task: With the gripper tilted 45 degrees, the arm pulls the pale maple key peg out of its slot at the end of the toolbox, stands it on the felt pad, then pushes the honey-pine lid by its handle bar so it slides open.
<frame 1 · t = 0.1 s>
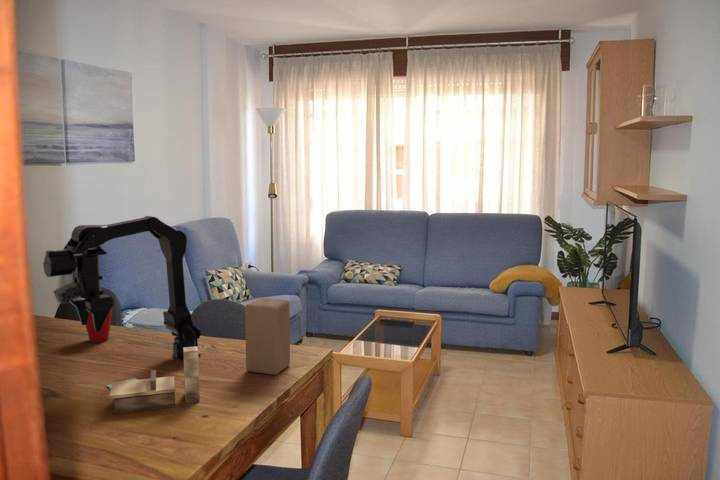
hand: (90, 328, 167), 15 cm above the table, tool pointing down, fingers open, 9 cm apart
wooden block: (268, 369, 179), on the table
lid: (142, 382, 153), point 5 cm above the table, slide at 0.0 cm
plastic cup: (98, 340, 204), on the table
felt pad: (127, 386, 164), on the table
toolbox: (145, 402, 154), on the table
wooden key: (192, 397, 157), on the table
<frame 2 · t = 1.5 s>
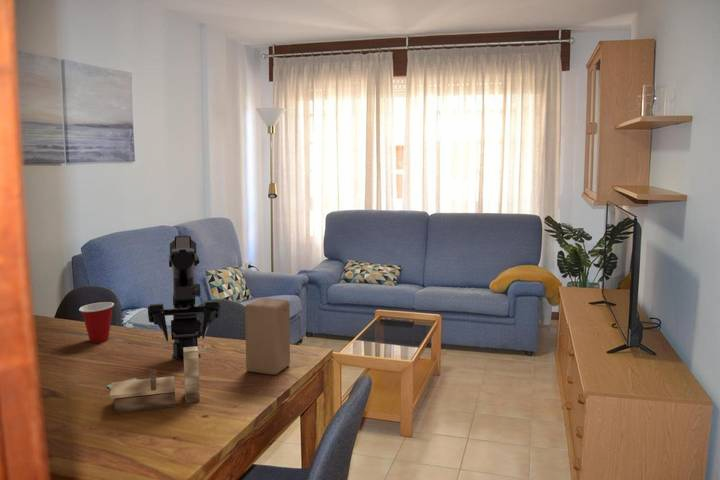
hand: (185, 339, 162), 13 cm above the table, tool tilted 45°, fingers open, 9 cm apart
nothing on the table moved.
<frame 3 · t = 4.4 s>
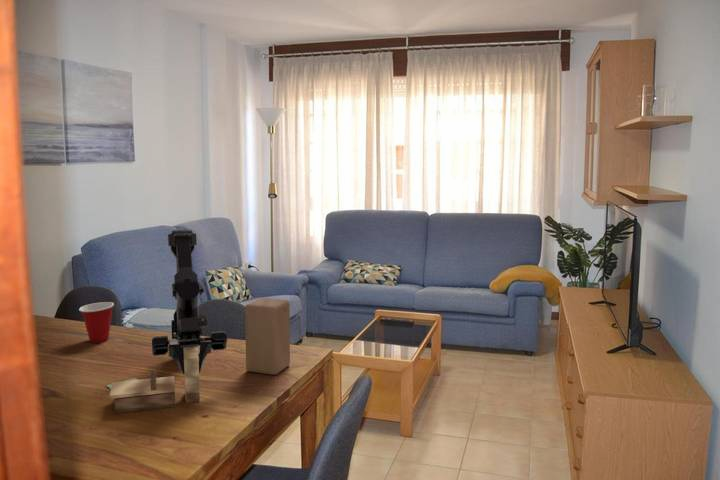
hand: (191, 373, 155), 7 cm above the table, tool tilted 45°, fingers closed on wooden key, 3 cm apart
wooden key: (192, 397, 157), on the table, touching gripper
everything else where it was.
when the fingers open (8 cm above the table, at t = 8.3 s): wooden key stays where it is, resting on felt pad.
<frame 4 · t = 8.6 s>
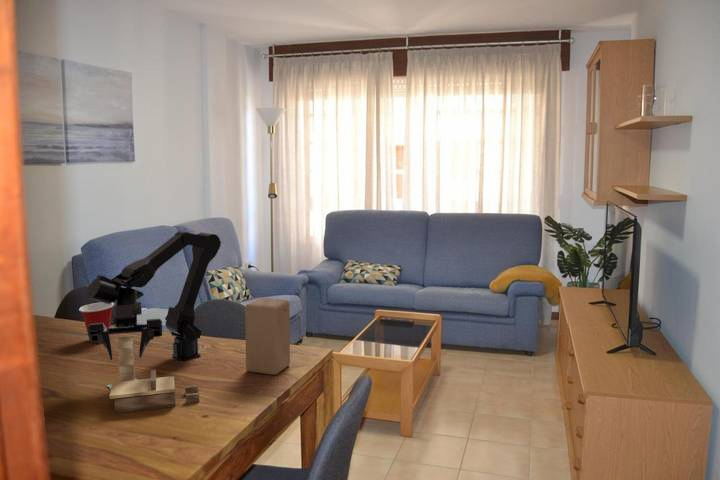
hand: (125, 358, 162), 8 cm above the table, tool tilted 45°, fingers open, 7 cm apart
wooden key: (127, 385, 164), resting on felt pad
everything else where it was.
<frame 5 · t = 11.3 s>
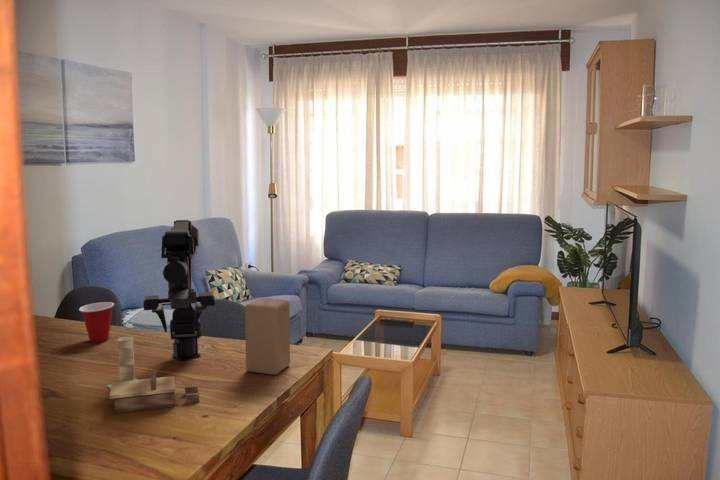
hand: (180, 331, 171), 13 cm above the table, tool pointing down, fingers open, 7 cm apart
nothing on the table moved.
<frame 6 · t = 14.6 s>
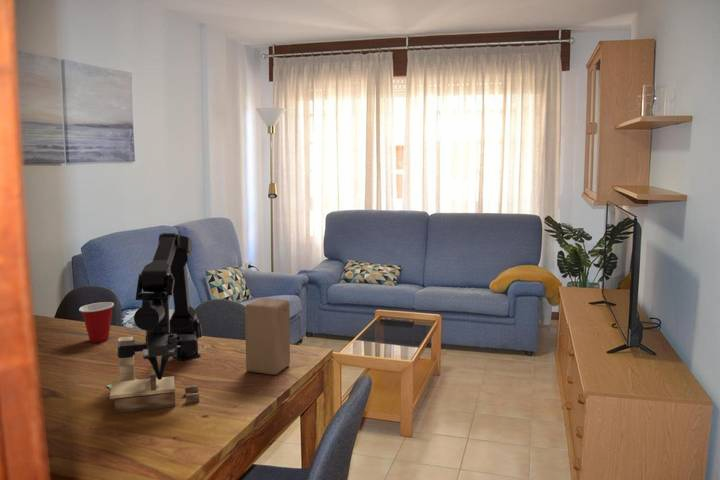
hand: (159, 379, 154), 6 cm above the table, tool pointing down, fingers closed
lid: (142, 382, 153), point 5 cm above the table, slide at 0.0 cm, touching gripper
everything else where it was.
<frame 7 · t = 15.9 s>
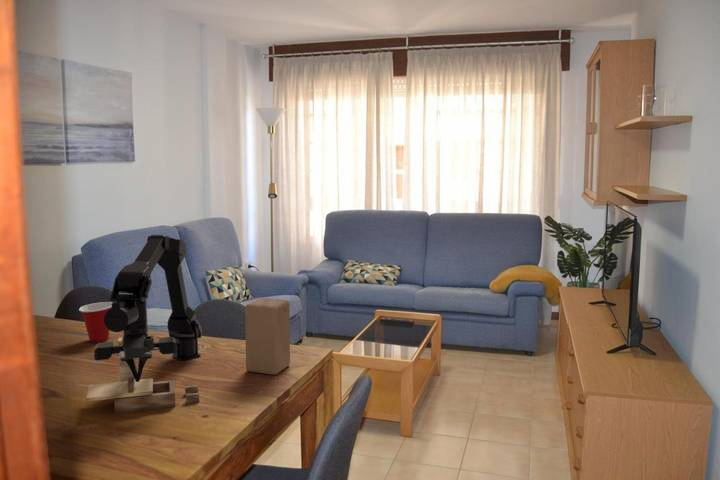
hand: (137, 381, 152), 6 cm above the table, tool pointing down, fingers closed
lid: (120, 384, 151), point 5 cm above the table, slide at 5.2 cm, touching gripper
everything else where it was.
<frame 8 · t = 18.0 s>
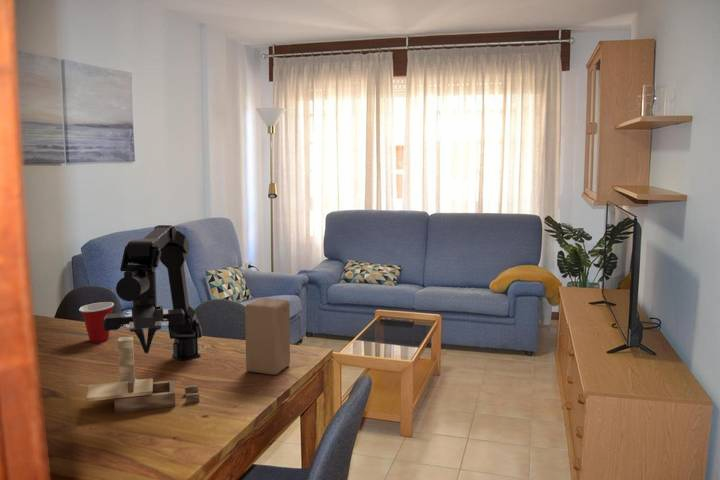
hand: (146, 352, 152), 13 cm above the table, tool pointing down, fingers closed
lid: (120, 384, 151), point 5 cm above the table, slide at 5.2 cm
everything else where it was.
at the end: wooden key inside the target area (0.1 cm from its centre), resting on felt pad; lid slide at 5.2 cm; the gripper is holding nothing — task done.
